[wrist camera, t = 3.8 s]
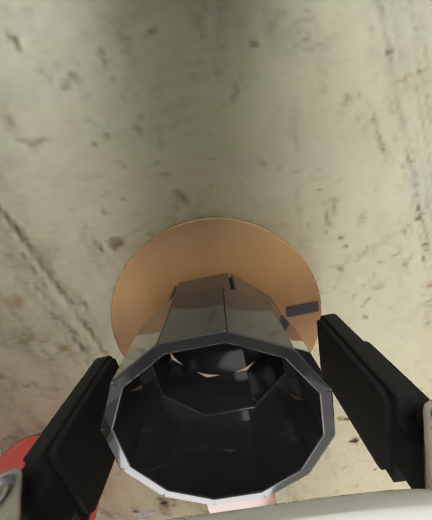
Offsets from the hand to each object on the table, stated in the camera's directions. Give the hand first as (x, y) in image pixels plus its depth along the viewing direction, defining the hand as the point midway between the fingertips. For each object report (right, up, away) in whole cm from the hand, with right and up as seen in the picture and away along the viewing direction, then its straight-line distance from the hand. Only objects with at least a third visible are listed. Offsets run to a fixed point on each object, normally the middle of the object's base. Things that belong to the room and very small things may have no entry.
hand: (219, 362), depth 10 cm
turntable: (0, +1, +4) cm, 4 cm away
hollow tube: (0, +1, +2) cm, 2 cm away
